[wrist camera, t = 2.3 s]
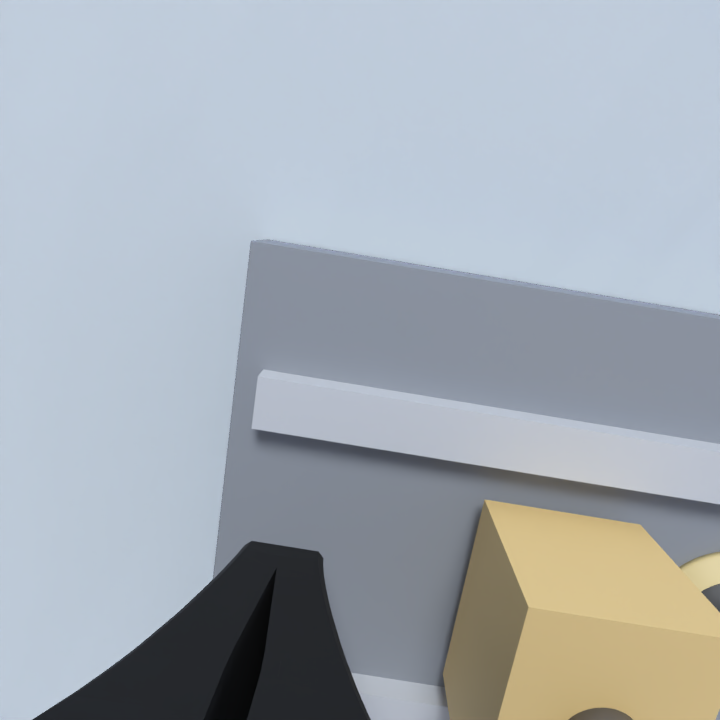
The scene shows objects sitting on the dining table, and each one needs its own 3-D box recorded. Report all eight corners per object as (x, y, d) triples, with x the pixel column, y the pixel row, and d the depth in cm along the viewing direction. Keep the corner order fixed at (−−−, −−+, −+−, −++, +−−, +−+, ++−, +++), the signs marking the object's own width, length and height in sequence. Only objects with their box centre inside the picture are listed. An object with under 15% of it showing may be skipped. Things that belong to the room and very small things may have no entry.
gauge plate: (1171, 390, 11) (1912, 539, 6) (935, 824, 14) (1287, 1198, 9) (267, 239, 11) (163, 249, 6) (210, 713, 14) (105, 1025, 8)
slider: (639, 524, 10) (809, 712, 6) (585, 696, 11) (702, 953, 7) (484, 499, 10) (554, 671, 6) (442, 673, 11) (480, 920, 7)
